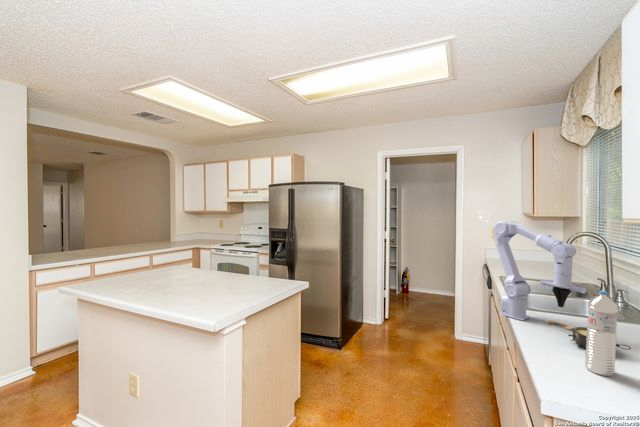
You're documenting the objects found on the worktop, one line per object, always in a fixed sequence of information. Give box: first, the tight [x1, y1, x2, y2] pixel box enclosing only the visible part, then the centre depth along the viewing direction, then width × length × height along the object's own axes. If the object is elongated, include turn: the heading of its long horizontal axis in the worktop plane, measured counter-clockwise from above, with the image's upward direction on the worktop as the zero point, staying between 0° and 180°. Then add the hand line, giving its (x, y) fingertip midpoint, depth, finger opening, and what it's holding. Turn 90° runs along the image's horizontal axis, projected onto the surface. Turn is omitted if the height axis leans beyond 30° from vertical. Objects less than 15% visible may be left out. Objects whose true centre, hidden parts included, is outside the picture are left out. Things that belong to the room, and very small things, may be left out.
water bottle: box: [584, 290, 619, 377], centre depth 95 cm, size 7×7×25 cm
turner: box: [547, 320, 576, 332], centre depth 129 cm, size 14×4×1 cm, turn 38°
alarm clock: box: [567, 326, 632, 350], centre depth 110 cm, size 11×5×16 cm
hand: (560, 306), depth 125 cm, fingers closed
